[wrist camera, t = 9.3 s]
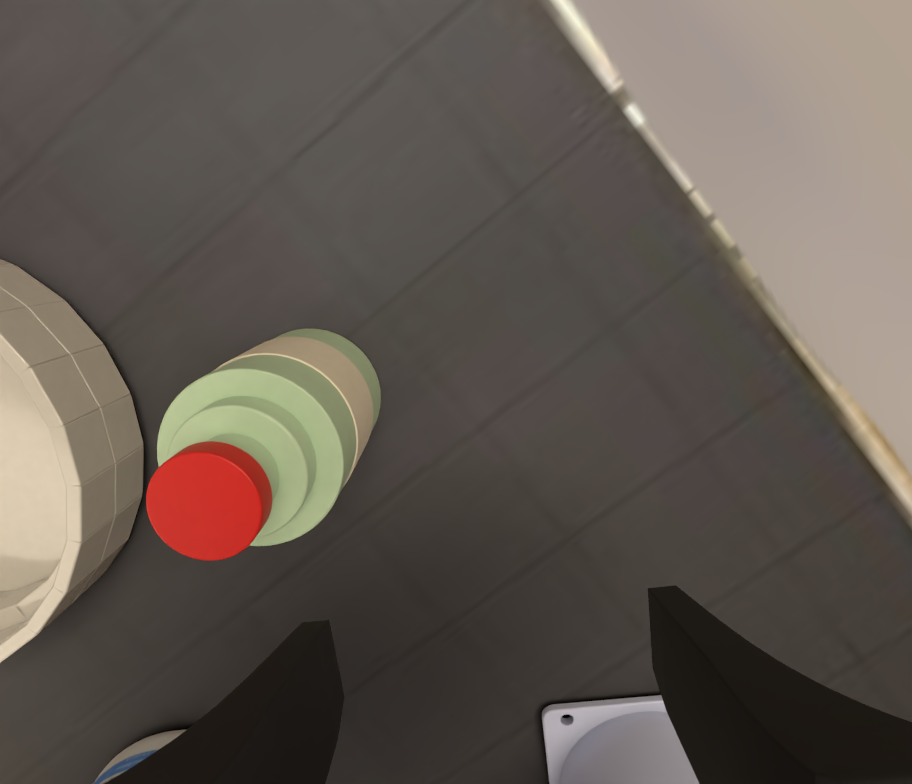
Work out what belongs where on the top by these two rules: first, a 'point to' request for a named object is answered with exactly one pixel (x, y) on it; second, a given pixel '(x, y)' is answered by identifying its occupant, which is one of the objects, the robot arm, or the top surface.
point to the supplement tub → (135, 754)
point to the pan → (58, 458)
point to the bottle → (262, 445)
